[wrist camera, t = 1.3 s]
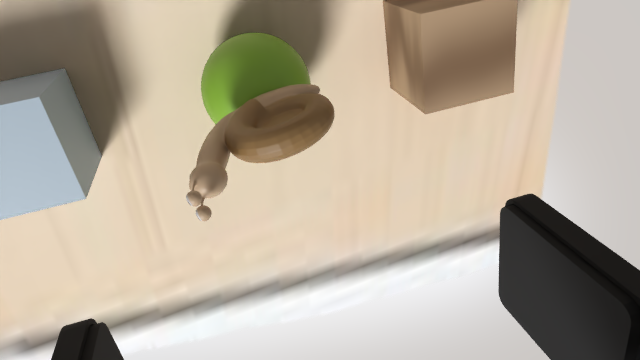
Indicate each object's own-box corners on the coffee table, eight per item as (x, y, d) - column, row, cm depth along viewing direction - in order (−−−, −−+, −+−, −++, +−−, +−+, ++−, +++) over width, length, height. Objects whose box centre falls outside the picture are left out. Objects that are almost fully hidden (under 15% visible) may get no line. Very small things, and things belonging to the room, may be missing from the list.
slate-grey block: (-41, 89, 24) (-92, 125, 19) (64, 67, 24) (38, 96, 20) (7, 178, 26) (-29, 227, 22) (101, 155, 27) (85, 198, 22)
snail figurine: (163, 58, 25) (148, 146, 15) (275, 7, 25) (338, 59, 15) (211, 144, 28) (227, 269, 17) (312, 97, 28) (387, 194, 18)
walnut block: (382, 1, 27) (420, 14, 22) (465, -17, 27) (517, -8, 23) (389, 87, 29) (425, 114, 25) (465, 69, 30) (513, 92, 25)
